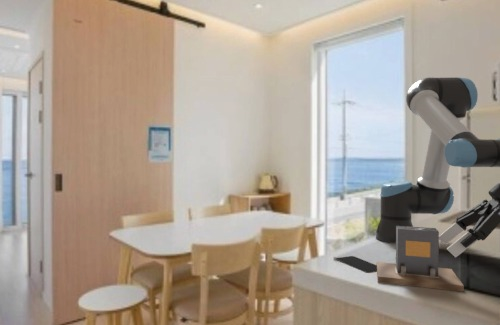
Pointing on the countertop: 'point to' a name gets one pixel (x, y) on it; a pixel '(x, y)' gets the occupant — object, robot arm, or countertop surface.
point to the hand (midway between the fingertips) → (445, 246)
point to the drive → (417, 250)
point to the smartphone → (358, 264)
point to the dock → (419, 277)
